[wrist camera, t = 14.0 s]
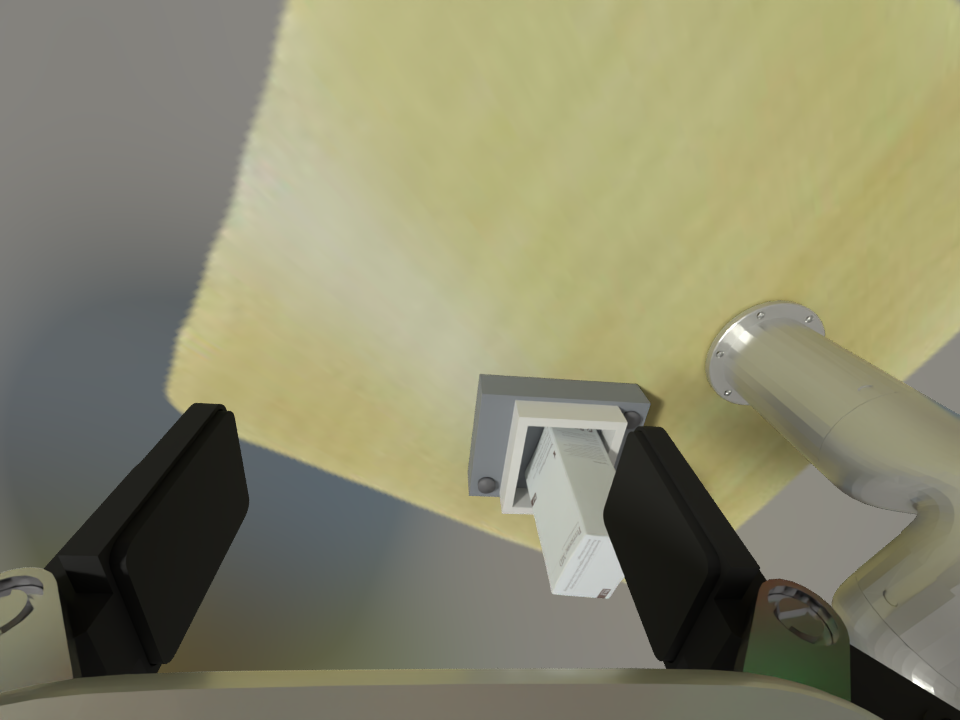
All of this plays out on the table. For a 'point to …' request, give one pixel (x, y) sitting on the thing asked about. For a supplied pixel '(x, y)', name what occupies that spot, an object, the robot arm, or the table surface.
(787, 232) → the table surface
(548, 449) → the skincare box
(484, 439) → the grey box holder
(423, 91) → the table surface
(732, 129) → the table surface
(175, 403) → the table surface
